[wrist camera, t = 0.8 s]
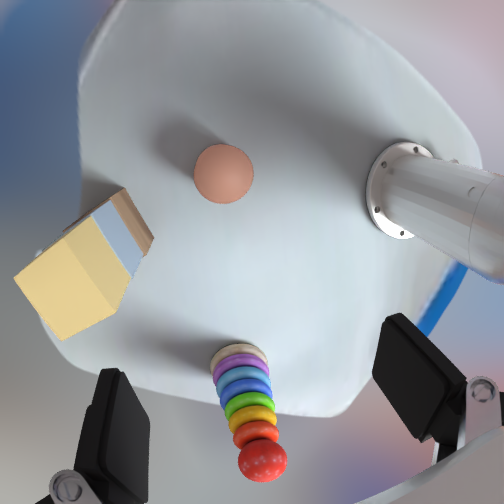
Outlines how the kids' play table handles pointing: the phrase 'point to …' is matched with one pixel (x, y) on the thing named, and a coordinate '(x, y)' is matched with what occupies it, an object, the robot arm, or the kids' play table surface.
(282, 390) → the kids' play table surface
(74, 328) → the tower top
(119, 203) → the tower base
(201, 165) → the cylinder
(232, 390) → the stacking toy
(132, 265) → the tower mid
